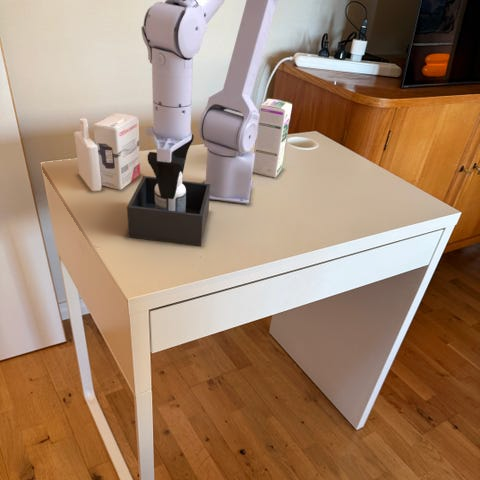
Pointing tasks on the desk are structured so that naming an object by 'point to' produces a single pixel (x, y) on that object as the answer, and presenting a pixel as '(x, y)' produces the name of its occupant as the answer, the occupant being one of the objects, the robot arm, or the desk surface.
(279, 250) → the desk surface
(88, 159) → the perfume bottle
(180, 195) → the pill bottle
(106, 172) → the ink box
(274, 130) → the syrup box
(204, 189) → the dark grey open box
